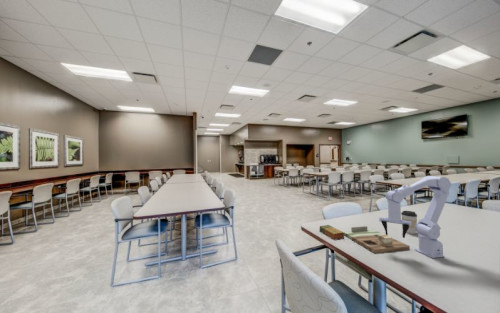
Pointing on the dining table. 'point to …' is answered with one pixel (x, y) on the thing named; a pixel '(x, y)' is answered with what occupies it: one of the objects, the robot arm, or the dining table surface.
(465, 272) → the dining table surface
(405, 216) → the coffee cup
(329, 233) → the carton
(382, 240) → the block
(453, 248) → the dining table surface
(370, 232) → the board
